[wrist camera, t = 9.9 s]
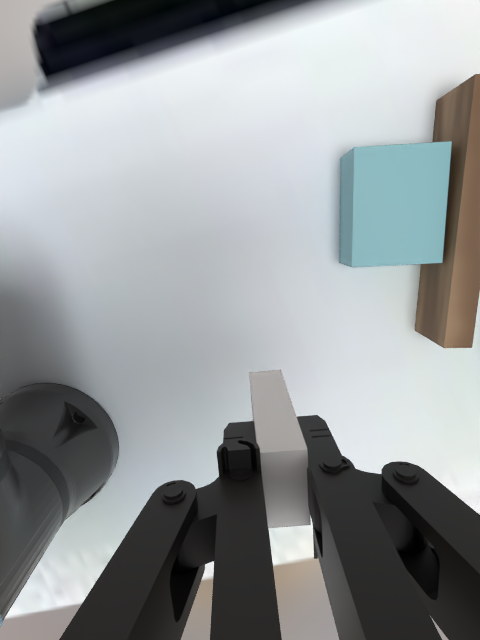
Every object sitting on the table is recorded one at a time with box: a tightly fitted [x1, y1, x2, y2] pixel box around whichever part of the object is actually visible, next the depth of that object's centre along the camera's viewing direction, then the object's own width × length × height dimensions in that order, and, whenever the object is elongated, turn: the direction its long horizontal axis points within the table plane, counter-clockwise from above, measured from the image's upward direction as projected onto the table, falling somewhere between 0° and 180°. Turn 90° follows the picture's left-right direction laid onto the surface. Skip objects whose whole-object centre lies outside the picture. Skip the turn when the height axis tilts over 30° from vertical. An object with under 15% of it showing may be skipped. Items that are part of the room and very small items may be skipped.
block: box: [339, 141, 452, 267], centre depth 34 cm, size 8×10×5 cm
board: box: [415, 74, 480, 348], centre depth 34 cm, size 2×22×6 cm, turn 1°
